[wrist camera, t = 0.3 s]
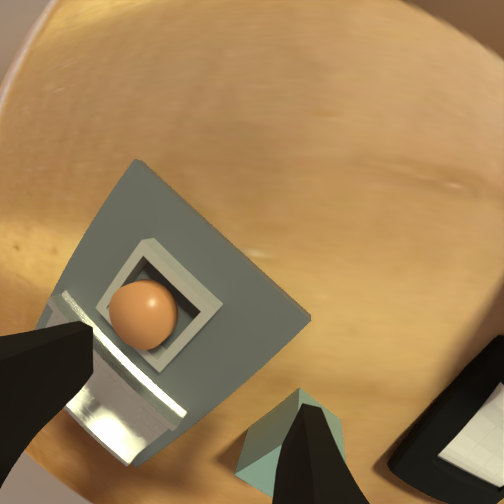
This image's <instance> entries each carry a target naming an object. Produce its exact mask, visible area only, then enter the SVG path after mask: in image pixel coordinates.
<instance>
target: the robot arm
mask: <svg viewBox="0 0 504 504" xmlns="http://www.w3.org/2000/svg"><path fill="white" fill-rule="evenodd" d="M93 373H94V369H93V327H92V326H89V325H87V324H85V323H83V322H81V321H75V322H69V323H64V324H60V325H55V326H51V327H47V328H42V329H38V330H33V331H29V332H24V333H18V334H12V335H6V336H1V337H0V488H1V486H2V484H3V482H4V481H5V479H6V477H7V476H8V474H9V472H10V471H11V469H12V467H13V466H14V464H15V463H16V461H17V460H18V458H19V457H20V455H21V454H22V453H23V451H24V450H25V448H26V447H27V446H28V445H29V443H30V442H31V441H32V439H33V438H34V437H35V435H36V434H37V433H38V432H39V431H40V430H41V429H42V428H43V427H44V426H45V425H46V424H47V423H48V422H49V421H50V420H51V419H52V418H53V417H54V416H55V415H56V414H57V413H58V412H59V411H60V410H61V409H62V408H63V407H65V406H66V405H67V404H68V403H69V402H70V401H71V400H72V399H73V398H74V397H75V396H76V395H77V394H78V393H79V391H80V390H81V389H82V388H83V386H84V385H85V384H86V382H87V381H88V380H89V378H90V377H91V376H92V374H93ZM272 504H370V503H369V502H368V501H367V499H366V498H365V496H364V495H363V493H362V492H361V490H360V488H359V487H358V485H357V483H356V482H355V480H354V478H353V476H352V475H351V473H350V471H349V469H348V467H347V465H346V463H345V461H344V459H343V457H342V455H341V453H340V451H339V449H338V446H337V444H336V442H335V440H334V437H333V435H332V432H331V430H330V428H329V425H328V423H327V420H326V417H325V415H324V412H323V410H322V408H321V407H317V406H313V405H309V404H304V403H302V405H301V407H300V409H299V411H298V413H297V415H296V417H295V419H294V421H293V423H292V425H291V427H290V429H289V431H288V433H287V435H286V437H285V439H284V441H283V443H282V446H281V450H280V454H279V459H278V463H277V467H276V473H275V482H274V491H273V500H272Z"/></svg>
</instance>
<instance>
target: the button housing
mask: <svg viewBox="0 0 504 504" xmlns="http://www.w3.org/2000/svg"><path fill="white" fill-rule="evenodd" d="M148 261H149V262H150V263H151V264H152V265H153V266H154V267H155V268H156V269H157V270H158V271H159V272H160V273H161V274H162V275H163V276H164V277H165V278H166V279H167V280H168V281H169V282H170V283H171V284H173V285H174V286H175V287H176V288H177V289H178V290H179V291H180V292H181V293H182V294H183V295H184V296H185V297H186V298H187V299H188V300H189V301H190V302H191V303H192V304H193V305H195V306H196V307H197V308H198V309H199V310H200V311H201V312H200V313H199V314H198V316H197V317H196V318H195V319H194V320H193V321H192V322H191V323H190V324H189V326H188V327H187V328H186V329H185V330H184V331H183V332H182V333H181V334H180V336H179V337H178V338H177V339H176V340H175V341H174V342H173V343H172V344H171V346H170V347H169V348H168V349H167V350H166V349H165V348H164V347H163V346H162V345H161V344H159V345H158V346H157V347H155V348H152V349H148V350H141V349H136V348H134V349H135V350H136V351H137V352H138V353H139V354H140V355H141V356H142V357H143V358H144V359H145V360H146V361H147V362H148V363H150V364H151V365H152V366H153V367H154V368H155V369H156V370H157V371H158V372H159V373H160V372H161V371H162V370H163V369H164V367H165V366H166V365H167V364H168V363H169V362H170V361H171V360H172V359H173V358H174V357H175V356H176V355H177V354H178V353H179V351H180V350H181V349H182V348H183V347H184V346H185V345H186V344H187V343H188V342H189V341H190V340H191V339H192V338H193V336H194V335H195V334H196V333H197V332H198V331H199V330H200V329H201V328H202V327H203V326H204V325H205V324H206V322H207V321H208V320H209V319H210V318H211V317H212V316H213V315H214V314H215V313H216V312H217V311H218V309H219V308H220V307H221V306H222V305H223V303H222V302H221V301H220V300H219V299H217V298H216V297H215V296H214V295H213V294H212V293H211V292H210V291H209V290H208V289H207V288H206V287H204V286H203V285H202V284H201V283H200V282H199V281H198V280H197V279H196V278H195V277H194V276H193V275H192V274H191V273H190V272H189V271H188V270H186V269H185V268H184V267H183V266H182V265H181V264H180V263H179V262H178V261H177V260H176V259H175V258H174V257H173V256H172V255H171V254H170V253H169V252H168V251H167V250H166V249H165V248H164V247H163V246H162V245H161V244H160V243H159V242H158V241H157V240H156V239H155V238H150V239H144V240H141V242H140V243H139V244H138V246H137V247H136V249H135V250H134V251H133V253H132V254H131V256H130V257H129V258H128V260H127V261H126V263H125V264H124V266H123V267H122V268H121V270H120V271H119V273H118V274H117V276H116V277H115V279H114V280H113V282H112V283H111V285H110V286H109V288H108V289H107V291H106V292H105V294H104V295H103V297H102V298H101V300H100V301H99V303H98V304H97V306H96V309H97V310H98V311H99V312H100V314H101V315H102V316H103V317H104V318H105V319H106V320H107V321H108V322H109V323H110V324H111V321H110V316H109V305H110V301H111V298H112V296H113V294H114V293H115V292H116V291H117V290H118V289H119V288H121V287H123V286H125V285H128V284H130V283H133V281H134V280H135V279H136V277H137V276H138V274H139V273H140V272H141V270H142V269H143V268H144V266H145V265H146V264H147V262H148ZM111 325H112V324H111Z"/></svg>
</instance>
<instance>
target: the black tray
mask: <svg viewBox="0 0 504 504" xmlns="http://www.w3.org/2000/svg"><path fill="white" fill-rule="evenodd" d="M387 465H388V467H389V469H390V471H391V472H392V473H394V474H395V475H396V476H398V477H399V478H400V479H402V480H403V481H404V482H406V483H407V484H409V485H411V486H413V487H414V488H416V489H418V490H420V491H421V492H423V493H425V494H427V495H429V496H431V497H433V498H436V499H438V500H440V501H443V502H445V503H449V504H497V503H498V502H499V501H500V500H502V499H503V498H504V336H502V335H499V336H497V337H496V338H494V339H493V340H492V341H491V342H490V343H489V344H488V345H487V346H486V347H485V348H484V349H483V350H482V351H481V352H480V353H479V354H478V355H477V356H476V357H475V358H474V359H473V360H472V361H471V362H470V363H469V364H468V365H467V366H466V367H465V368H464V370H463V371H462V372H461V373H460V374H459V376H458V377H457V378H456V379H455V380H454V381H453V383H452V384H451V385H450V386H449V387H448V388H447V389H446V390H445V392H444V393H443V394H442V395H441V396H440V397H439V398H438V399H437V401H436V402H435V403H434V404H433V406H432V407H431V408H430V409H429V411H428V412H427V413H426V414H425V416H424V417H423V418H422V419H421V420H420V422H419V423H418V424H417V425H416V426H415V427H414V428H413V430H412V431H411V432H410V434H409V435H408V436H407V438H406V439H405V440H404V441H403V443H402V444H401V445H400V447H399V448H398V449H397V450H396V452H395V453H394V454H393V455H392V456H391V458H390V459H389V461H388V463H387Z"/></svg>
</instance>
